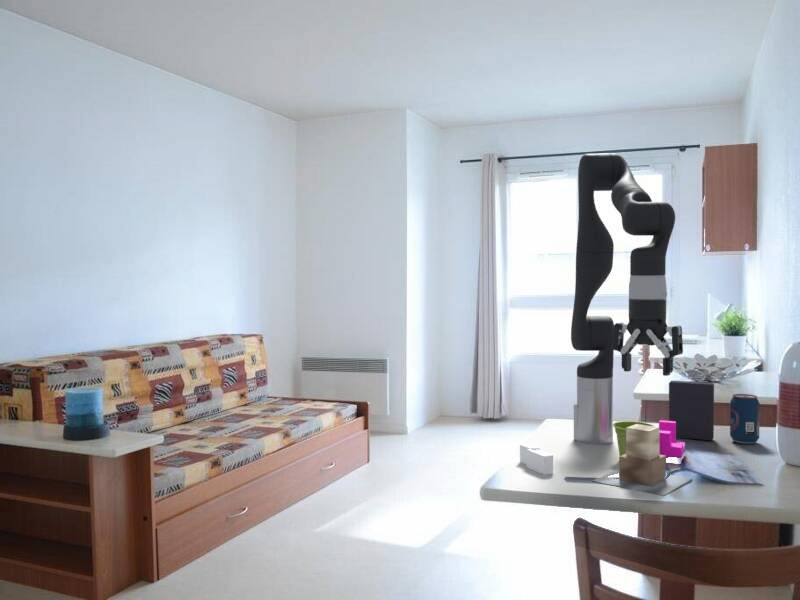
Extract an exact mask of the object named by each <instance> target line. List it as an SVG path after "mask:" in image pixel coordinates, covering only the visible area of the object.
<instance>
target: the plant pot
mask: <svg viewBox="0 0 800 600" xmlns="http://www.w3.org/2000/svg"><path fill="white" fill-rule="evenodd" d="M635 424H640V425H647V426H654V427H656V426H655V425H653V424H651V423H647V422H643V421H632V420H631V421H626V420H625V421H617V422H613V428H614V431H615V434H616V440H617V447H618V455H619V456H622V455H624V454H626V428H627V427H630V426H632V425H635Z"/></svg>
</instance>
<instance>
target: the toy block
mask: <svg viewBox="0 0 800 600" xmlns="http://www.w3.org/2000/svg"><path fill="white" fill-rule="evenodd" d="M658 427H660V450H659V454H660V455H666V458H668V457H677V458H681V457H682V455H683V453H684V451H685V452H686V441H685V442H684V441H677V437H676V421H669V420H665V419H664V420H661V419H660V420H659V421H658Z"/></svg>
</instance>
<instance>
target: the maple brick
mask: <svg viewBox="0 0 800 600" xmlns="http://www.w3.org/2000/svg"><path fill="white" fill-rule="evenodd" d="M654 426H655V425H654ZM654 426H647V425H640V424H635V425H632V426H630V427H627V428H626V456H627V457H633V458H639V459H644V460H652V459H654V458H656V457H658V456H659V450H660V427H659V426H655V427H654Z"/></svg>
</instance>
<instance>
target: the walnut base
mask: <svg viewBox="0 0 800 600" xmlns="http://www.w3.org/2000/svg"><path fill="white" fill-rule="evenodd" d="M618 459H619V463H618V464H619V468H618V469H614V470H612V471H611V472H609V473H606V474H604V475H601V476H600V477H598V478H595V479H593V480H592V482H593V483H597V484H603V485H608V486H613V487H617V488H621V489H622V488H623V489H627V490H631V491H632V490H633V491H637V492H642V493H647V494H652V495H657V496H662V497H665V496H667V495H669V494H670V493H672V492H674V491H676V490H678V489H679V488H681V487H683V486H685V485H688V483H691V482H692V481H693V478H690V477H686V476H680V475H675V474H670V476H669V477H668V478H667V479H665V480H664V477H665V476H666V474H667V464H666V455H660V454H659V456H658V457H656V458H654V459H652V460H644V459H639V458H633V457H627V456H626V454H624V455H622V456H619V457H618ZM618 473H619V479H616V478H615V479H614V478H608V476H610V475H614V474H618ZM606 477H607V478H606Z"/></svg>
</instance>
